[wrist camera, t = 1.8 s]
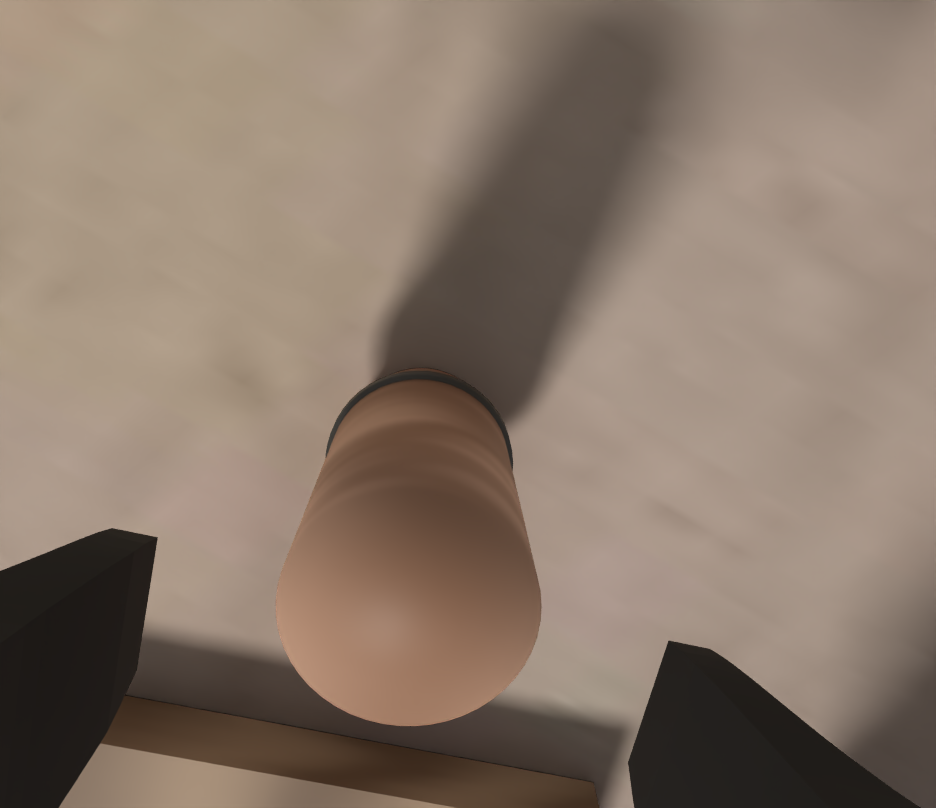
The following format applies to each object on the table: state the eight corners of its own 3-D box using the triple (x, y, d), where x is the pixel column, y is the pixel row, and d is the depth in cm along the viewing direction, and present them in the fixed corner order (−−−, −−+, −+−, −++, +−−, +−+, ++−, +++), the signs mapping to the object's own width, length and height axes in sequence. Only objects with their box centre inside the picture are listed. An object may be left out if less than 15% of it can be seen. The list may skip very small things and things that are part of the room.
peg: (523, 372, 21) (579, 513, 13) (483, 526, 22) (510, 753, 14) (356, 334, 21) (296, 453, 12) (323, 493, 22) (247, 704, 13)
